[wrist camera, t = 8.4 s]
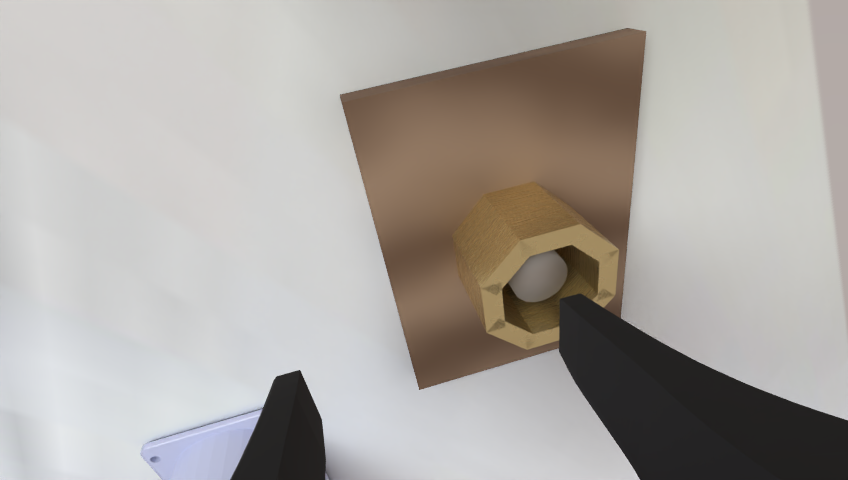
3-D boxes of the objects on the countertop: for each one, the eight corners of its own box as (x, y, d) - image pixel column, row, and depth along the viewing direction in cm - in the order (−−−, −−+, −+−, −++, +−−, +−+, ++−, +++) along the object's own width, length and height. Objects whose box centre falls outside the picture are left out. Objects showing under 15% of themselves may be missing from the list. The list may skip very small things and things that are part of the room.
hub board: (607, 316, 27) (652, 368, 23) (415, 373, 26) (431, 437, 22) (627, 28, 18) (703, 40, 15) (339, 94, 17) (347, 125, 14)
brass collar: (568, 272, 23) (612, 324, 19) (462, 302, 22) (490, 360, 19) (568, 172, 20) (622, 212, 16) (447, 203, 19) (476, 252, 16)
